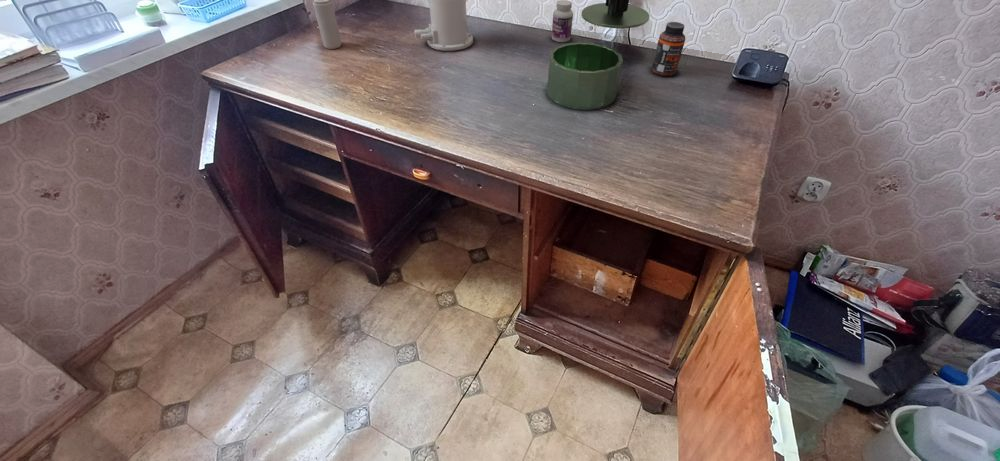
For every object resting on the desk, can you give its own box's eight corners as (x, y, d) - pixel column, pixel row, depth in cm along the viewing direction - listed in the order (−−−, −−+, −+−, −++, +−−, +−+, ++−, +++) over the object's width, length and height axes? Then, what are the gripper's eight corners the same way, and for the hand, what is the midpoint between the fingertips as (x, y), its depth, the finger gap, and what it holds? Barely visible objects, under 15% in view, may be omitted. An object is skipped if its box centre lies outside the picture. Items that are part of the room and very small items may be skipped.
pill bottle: (548, 40, 129) (550, 3, 123) (555, 34, 133) (558, -3, 126) (566, 44, 128) (569, 6, 121) (573, 37, 131) (577, 0, 124)
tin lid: (599, 34, 109) (603, 2, 104) (570, 11, 121) (573, -19, 116) (661, 26, 113) (668, -6, 108) (627, 4, 124) (633, -26, 119)
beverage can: (320, 48, 126) (307, 0, 117) (331, 41, 129) (319, -5, 121) (335, 51, 124) (323, 3, 116) (346, 44, 128) (335, -3, 119)
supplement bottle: (662, 79, 112) (674, 31, 104) (646, 69, 116) (656, 22, 108) (681, 74, 114) (694, 26, 106) (664, 64, 118) (676, 18, 110)
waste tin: (563, 114, 100) (567, 76, 94) (537, 82, 111) (539, 47, 105) (628, 103, 103) (635, 66, 97) (597, 74, 114) (602, 39, 108)
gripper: (597, -85, 108) (587, -1, 120) (633, -70, 96) (618, 22, 108) (626, -87, 109) (613, -4, 122) (665, -73, 97) (646, 18, 110)
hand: (616, 7), depth 115 cm, fingers closed on tin lid, 4 cm apart
